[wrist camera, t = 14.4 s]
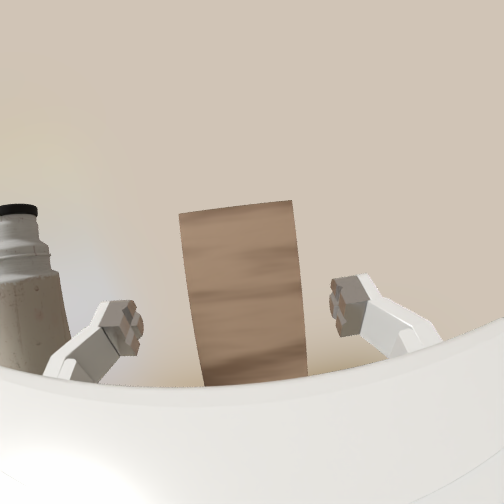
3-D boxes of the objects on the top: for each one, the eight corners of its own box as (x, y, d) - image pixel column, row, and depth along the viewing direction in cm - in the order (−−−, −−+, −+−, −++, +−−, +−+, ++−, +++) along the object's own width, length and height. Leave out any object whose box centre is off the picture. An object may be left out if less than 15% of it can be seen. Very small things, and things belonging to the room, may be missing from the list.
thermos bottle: (88, 456, 22) (24, 218, 21) (141, 475, 20) (71, 200, 19) (52, 490, 14) (-37, 216, 13) (105, 520, 12) (-5, 192, 11)
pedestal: (310, 444, 25) (291, 200, 24) (220, 452, 25) (178, 213, 24) (302, 416, 31) (283, 208, 30) (224, 423, 31) (192, 219, 30)
